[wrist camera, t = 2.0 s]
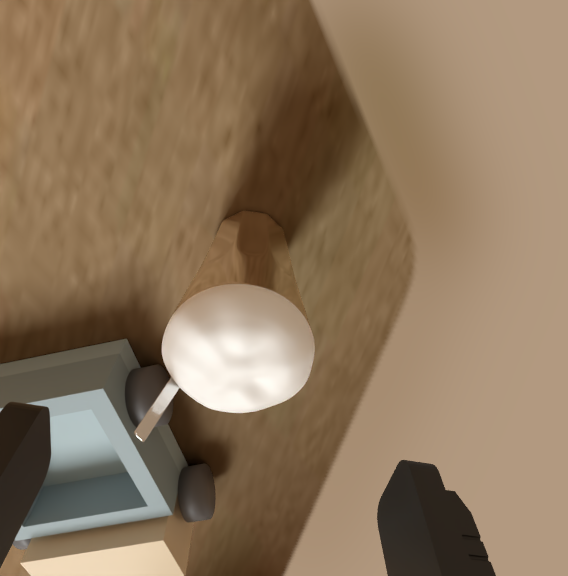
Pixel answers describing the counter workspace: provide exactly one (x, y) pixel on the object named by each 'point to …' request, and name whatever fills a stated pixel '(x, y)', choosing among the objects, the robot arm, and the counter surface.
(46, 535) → the chassis
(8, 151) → the counter surface
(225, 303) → the milkshake
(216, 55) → the counter surface
